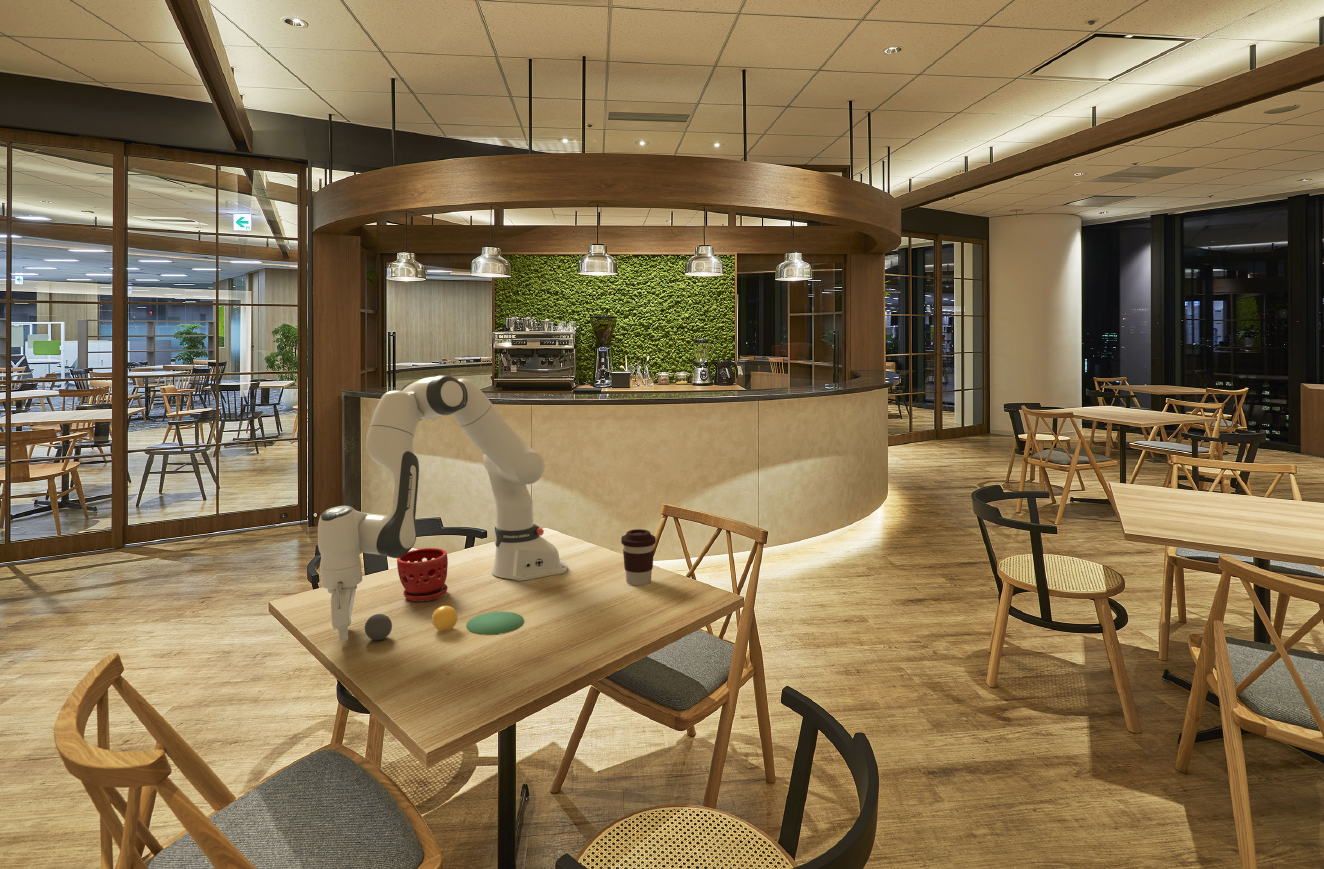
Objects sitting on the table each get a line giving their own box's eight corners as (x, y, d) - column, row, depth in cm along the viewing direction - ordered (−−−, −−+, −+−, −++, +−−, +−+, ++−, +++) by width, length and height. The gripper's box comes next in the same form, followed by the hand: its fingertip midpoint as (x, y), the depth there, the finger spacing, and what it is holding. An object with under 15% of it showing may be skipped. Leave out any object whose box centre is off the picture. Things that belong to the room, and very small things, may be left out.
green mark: (519, 609, 186) (519, 608, 186) (528, 630, 173) (528, 629, 173) (463, 616, 181) (463, 616, 181) (469, 638, 168) (469, 637, 168)
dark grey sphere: (392, 632, 172) (391, 608, 171) (392, 642, 166) (391, 617, 165) (365, 636, 169) (364, 612, 169) (364, 646, 164) (363, 621, 163)
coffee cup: (615, 585, 204) (615, 534, 202) (630, 574, 213) (629, 526, 211) (647, 590, 200) (647, 538, 198) (660, 579, 209) (660, 529, 207)
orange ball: (457, 623, 177) (456, 600, 176) (459, 633, 171) (458, 609, 170) (431, 627, 175) (430, 603, 174) (432, 636, 169) (431, 612, 168)
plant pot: (426, 585, 205) (424, 544, 203) (459, 593, 198) (457, 551, 196) (388, 599, 193) (386, 556, 192) (422, 608, 187) (420, 564, 185)
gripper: (353, 588, 158) (357, 647, 160) (358, 561, 177) (362, 614, 179) (322, 592, 156) (326, 652, 158) (331, 564, 175) (335, 618, 177)
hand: (345, 631), depth 169 cm, fingers open, 8 cm apart
